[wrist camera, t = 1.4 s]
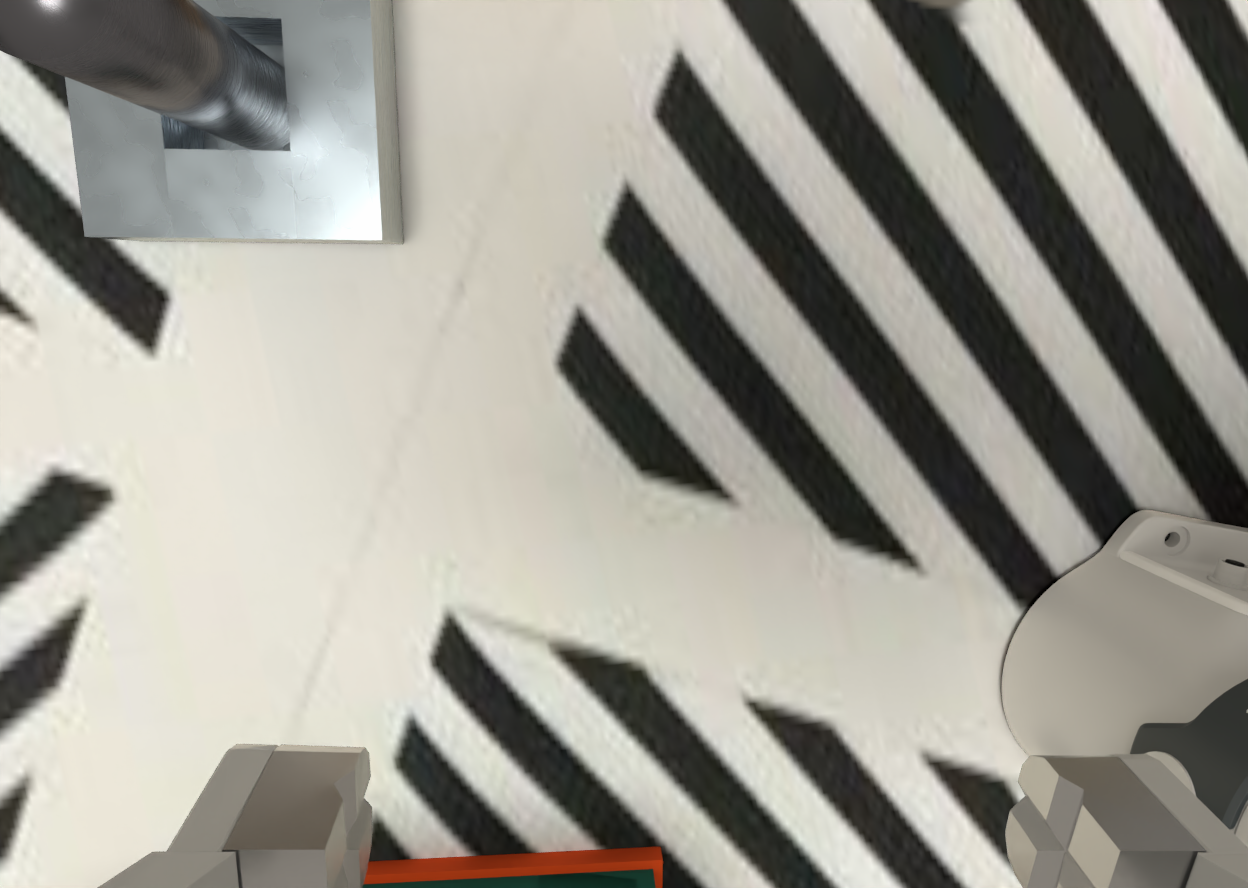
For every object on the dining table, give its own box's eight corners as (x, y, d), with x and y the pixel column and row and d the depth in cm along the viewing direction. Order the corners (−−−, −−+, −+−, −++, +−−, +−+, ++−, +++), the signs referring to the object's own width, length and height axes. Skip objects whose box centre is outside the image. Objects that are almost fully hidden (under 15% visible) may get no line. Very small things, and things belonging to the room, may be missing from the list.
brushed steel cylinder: (301, 58, 36) (98, -108, 20) (307, 152, 37) (118, 62, 21) (208, 55, 36) (-69, -115, 20) (217, 150, 37) (-44, 58, 21)
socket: (390, -34, 36) (365, -77, 32) (403, 244, 38) (382, 240, 34) (109, -44, 35) (44, -89, 31) (141, 241, 38) (84, 236, 33)
